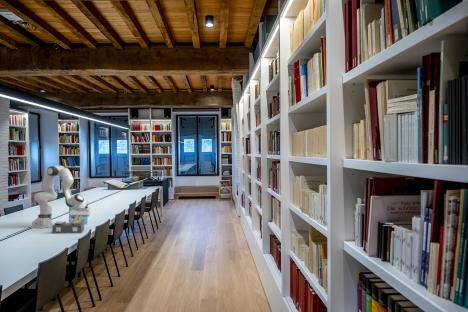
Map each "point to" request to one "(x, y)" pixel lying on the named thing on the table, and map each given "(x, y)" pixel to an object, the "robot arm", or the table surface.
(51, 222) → the robot arm
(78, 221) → the rocker
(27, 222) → the table surface
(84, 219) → the gum box
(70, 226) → the switch block
